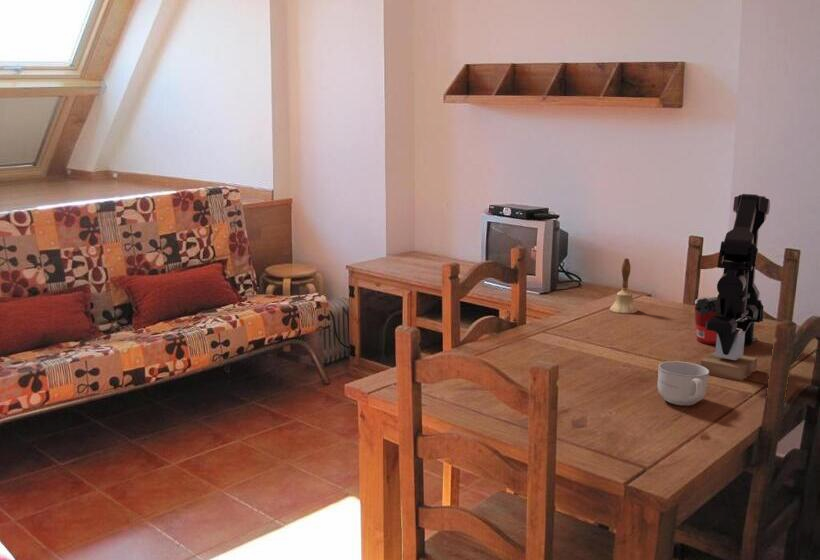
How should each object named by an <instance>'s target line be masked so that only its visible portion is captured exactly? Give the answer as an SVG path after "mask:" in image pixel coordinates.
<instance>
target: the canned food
mask: <svg viewBox="0 0 820 560" xmlns="http://www.w3.org/2000/svg"><path fill="white" fill-rule="evenodd" d="M714 297H715V296H703V297H699V298H697V299H695V301H694V308H695V307H696V303H697V301H698V300H699V299H704V298H706V299H709V298H714ZM715 313H716V312H713V313H707V314H704V315H699V312H698V311H696V310H695V309H694V320H695V338H696V341H698V342H699V343H700V344H706V345H716V340H717V333H716V332H715V331H711V330H707V329H706V321H707V320H709V319H710V318H712V317H713V316H715V315H716V314H715ZM717 316H723V315H717Z"/></svg>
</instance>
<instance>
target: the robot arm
mask: <svg viewBox="0 0 820 560" xmlns="http://www.w3.org/2000/svg"><path fill="white" fill-rule="evenodd" d="M732 206H733V209H732V212H733V213H735V214H736V215H735V220H734V224H733V228H732V229H731V230H729V231H728V232H726V234H725V236H724V241H722V240H721V242H720V246H719V247H720V248H719V253H718V254H719V255H718V260H717V268H718V269H723V274H722V275H721V276H720V278H719V280H718V281H717V284H716V290H717V292H718V294H717V296H713V297H714V298H709V299H706V298H704V299H699V300H698V301H697V303H696V307H695V306H694V311H695V310H696V311H698V312H699V315H704V314H707V313H713V312H716V313H715V314H716V315H715V316H713V317H712V318H710V319H709V320H707V321H706V329H707V330H711V331H715V332H716V333H717V334H718V335H719V338H720V342H721V347H722V351H723V354H725V355H728V354H729V352H730V350H731V348H732V345H733V343H734V341H735V339H736V337H737V335H738V332H739V329H743V330H742V331H745V339H744V346H745V345H746V346H751V345H753V344H754V343H755V342H757V341H758V338H757V337H754V335H755V334H754V333H755V323H758V324H759V323H760V322H763V321H764V305H763V302H762V299H760V291H759V289H758V287H757V285H756V284H755V278H756V277H755V275H756V265H757V258H758V252H759V249H758V241H759V230H760V228H761V227H762V226H763V224H764V223H765V221H766V219H767V215H769V214H770V207H771V200H770V199H769V198H766V196H764V195H762V196H761V195H758V194H755V193H754V194H752V193H751V194H750V193H742V194H739V195H737V196H734V198H733V205H732ZM717 315H723V316H717ZM736 328H738V329H736Z"/></svg>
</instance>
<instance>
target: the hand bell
mask: <svg viewBox="0 0 820 560" xmlns="http://www.w3.org/2000/svg"><path fill="white" fill-rule="evenodd" d="M630 274H631V262H630V259H629V258H624V260H623V262H622V265H621V276H622V284H621V285H622V286H621V290H620V291H618V292H617V293H616V298H615V301H614V303H613V304H612V305H611V306H610V308H609V310H610V311H611V312H613V313H617V314H626V315H627V314H636V313H638V311H639V310H638V308H637V307H636V305H635V303H634V300H633V293H632V292H631V291H629V290H628V289H629V286H628V285H629V277H630Z"/></svg>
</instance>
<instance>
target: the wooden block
mask: <svg viewBox="0 0 820 560" xmlns="http://www.w3.org/2000/svg"><path fill="white" fill-rule="evenodd" d="M715 353H716V350H715V351H714V352H712V353H710V354H709V355H707V356H705V357H704V358H702V359H701V360H700V366H703V367H705V368H707V369H708V370H709V375H711V376H715V377H720V378H724V379H729V380H732V381H733V380H734V381H737V380H738V381H737V382H742V381H744V380H745V379H746V378H747V376H748V375H749V376H750V375H752V374H753V373H754V372H755V370H756V371H757V364H758V358H757V357H753V356H748V355H744V354H743V356H741V357H740V358H738V359H737V360H731V359H726V358H721V357H716V356H715ZM753 371H754V372H753ZM752 372H753V373H752ZM751 373H752V374H751ZM749 376H748V377H749ZM744 378H745V379H744ZM743 379H744V380H743Z"/></svg>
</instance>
